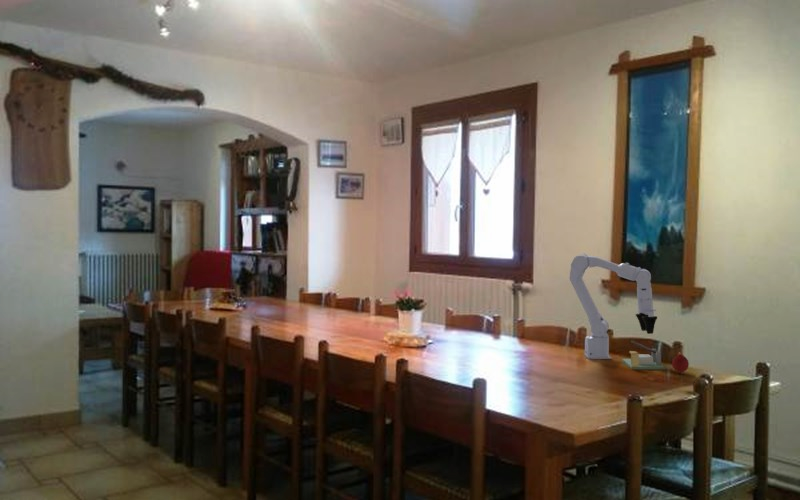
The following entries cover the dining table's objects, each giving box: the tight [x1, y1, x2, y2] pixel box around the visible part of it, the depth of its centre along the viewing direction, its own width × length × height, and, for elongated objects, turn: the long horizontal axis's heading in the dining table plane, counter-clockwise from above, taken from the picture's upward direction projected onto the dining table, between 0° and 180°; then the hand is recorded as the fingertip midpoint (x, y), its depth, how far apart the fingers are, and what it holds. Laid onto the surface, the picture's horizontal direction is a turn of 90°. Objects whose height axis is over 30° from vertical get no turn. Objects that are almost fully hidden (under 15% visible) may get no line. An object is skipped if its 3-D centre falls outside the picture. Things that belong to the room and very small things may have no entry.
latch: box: [629, 350, 639, 367], centre depth 264 cm, size 2×4×5 cm, turn 176°
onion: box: [671, 351, 690, 374], centre depth 255 cm, size 6×6×8 cm
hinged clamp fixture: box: [621, 348, 666, 371], centre depth 268 cm, size 13×14×6 cm
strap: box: [630, 340, 657, 354], centre depth 268 cm, size 11×4×1 cm, turn 87°
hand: (647, 332), depth 276 cm, fingers open, 7 cm apart
